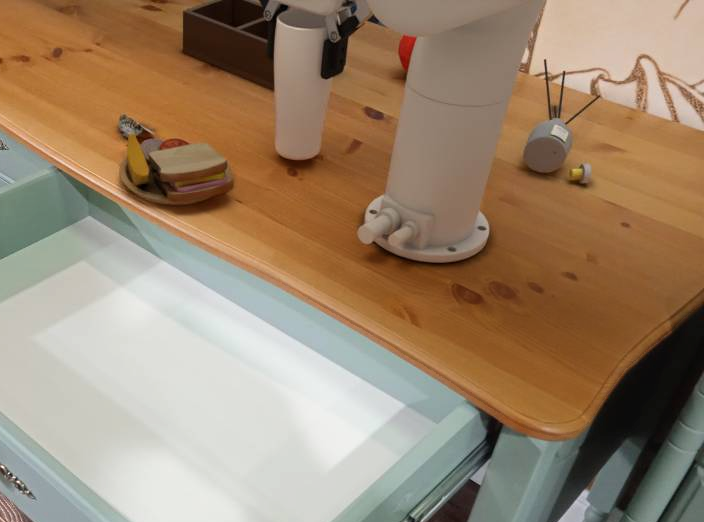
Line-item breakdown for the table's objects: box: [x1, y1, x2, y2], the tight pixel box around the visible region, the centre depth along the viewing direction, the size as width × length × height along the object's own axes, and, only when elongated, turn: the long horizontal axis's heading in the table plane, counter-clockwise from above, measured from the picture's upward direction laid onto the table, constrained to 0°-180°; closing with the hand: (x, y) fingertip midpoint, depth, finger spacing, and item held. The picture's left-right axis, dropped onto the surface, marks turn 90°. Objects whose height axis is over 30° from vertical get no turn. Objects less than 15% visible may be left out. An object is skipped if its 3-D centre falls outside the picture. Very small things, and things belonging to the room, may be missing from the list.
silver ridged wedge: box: [118, 113, 156, 138], centre depth 104 cm, size 6×2×3 cm
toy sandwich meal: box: [118, 134, 234, 206], centre depth 94 cm, size 12×14×5 cm
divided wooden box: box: [182, 0, 274, 91], centre depth 118 cm, size 10×19×6 cm, turn 44°
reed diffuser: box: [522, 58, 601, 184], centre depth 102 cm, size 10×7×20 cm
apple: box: [397, 35, 417, 74], centre depth 114 cm, size 8×8×7 cm
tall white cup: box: [273, 8, 341, 161], centre depth 94 cm, size 7×7×15 cm
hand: (304, 64), depth 92 cm, fingers closed on tall white cup, 6 cm apart
